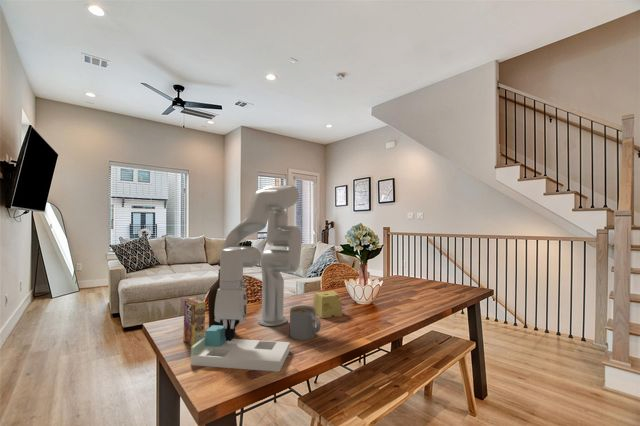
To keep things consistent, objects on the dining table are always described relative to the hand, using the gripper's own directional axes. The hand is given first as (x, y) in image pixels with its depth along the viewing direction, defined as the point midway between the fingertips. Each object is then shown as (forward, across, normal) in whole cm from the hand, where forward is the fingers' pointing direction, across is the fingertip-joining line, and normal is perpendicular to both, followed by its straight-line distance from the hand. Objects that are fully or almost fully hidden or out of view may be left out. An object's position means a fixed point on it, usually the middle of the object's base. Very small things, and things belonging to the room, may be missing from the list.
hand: (229, 339), depth 101 cm
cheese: (+4, -30, -45) cm, 54 cm away
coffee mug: (+4, -23, -18) cm, 29 cm away
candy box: (+5, +16, -6) cm, 18 cm away
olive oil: (+4, +10, -16) cm, 20 cm away
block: (+1, +5, 0) cm, 5 cm away
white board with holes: (+4, -6, +3) cm, 8 cm away
